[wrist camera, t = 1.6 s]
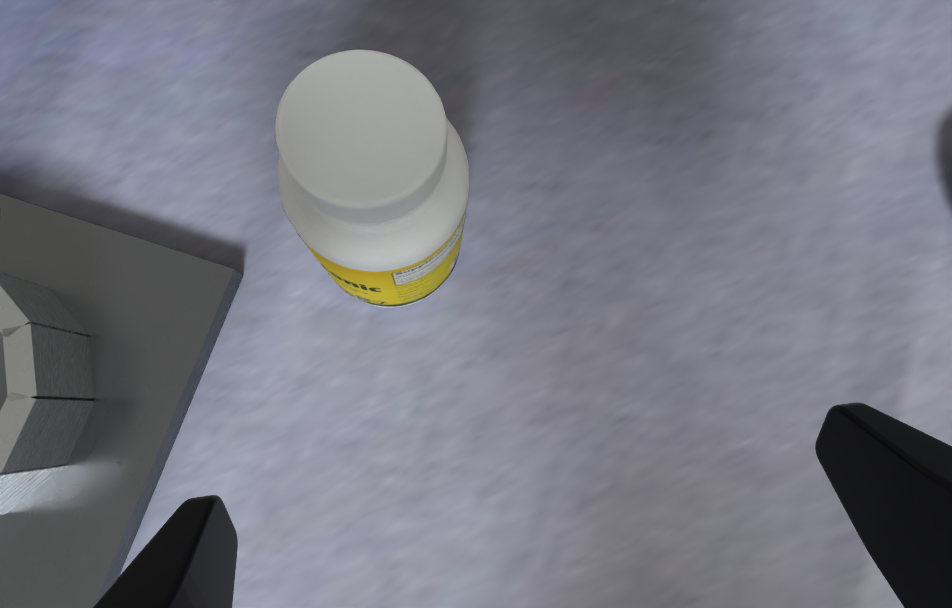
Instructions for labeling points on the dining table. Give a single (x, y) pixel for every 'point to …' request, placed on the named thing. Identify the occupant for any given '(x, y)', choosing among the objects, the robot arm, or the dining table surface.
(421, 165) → the supplement bottle
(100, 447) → the duct collar
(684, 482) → the dining table surface
